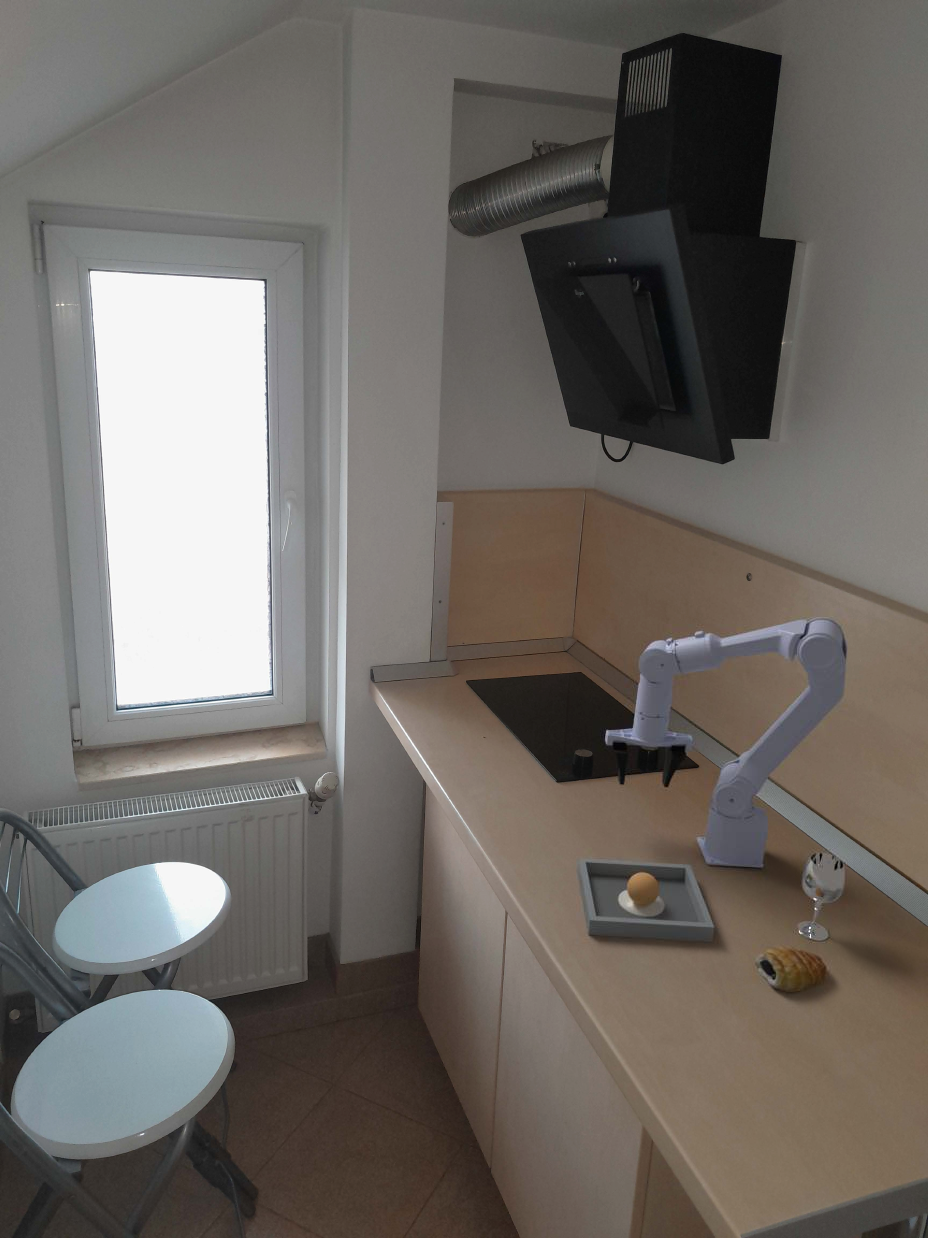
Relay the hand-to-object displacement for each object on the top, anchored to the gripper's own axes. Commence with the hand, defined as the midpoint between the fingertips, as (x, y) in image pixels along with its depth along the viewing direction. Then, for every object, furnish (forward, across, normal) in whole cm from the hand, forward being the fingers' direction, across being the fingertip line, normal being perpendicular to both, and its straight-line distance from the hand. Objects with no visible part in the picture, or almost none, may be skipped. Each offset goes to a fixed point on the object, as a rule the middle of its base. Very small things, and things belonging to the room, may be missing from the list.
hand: (643, 783), depth 156 cm
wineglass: (+10, -22, +26) cm, 35 cm away
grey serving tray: (+9, +3, +22) cm, 24 cm away
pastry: (+10, -15, +36) cm, 40 cm away
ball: (+6, +3, +22) cm, 23 cm away
